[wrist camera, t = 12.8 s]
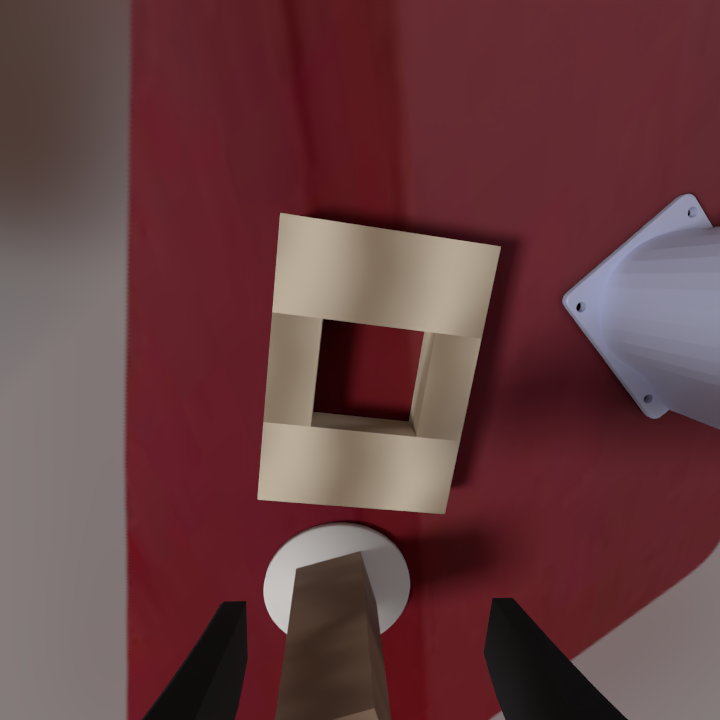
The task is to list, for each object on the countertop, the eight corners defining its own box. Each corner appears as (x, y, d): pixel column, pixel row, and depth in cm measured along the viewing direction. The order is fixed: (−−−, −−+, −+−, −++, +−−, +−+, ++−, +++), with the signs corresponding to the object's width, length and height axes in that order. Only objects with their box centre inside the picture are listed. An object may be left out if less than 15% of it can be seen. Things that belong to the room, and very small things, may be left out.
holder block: (483, 250, 18) (501, 246, 16) (434, 492, 21) (444, 514, 19) (286, 220, 17) (280, 212, 15) (265, 478, 20) (257, 499, 18)
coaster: (437, 583, 23) (439, 588, 22) (334, 664, 24) (334, 670, 23) (341, 494, 21) (341, 498, 20) (233, 586, 22) (232, 592, 21)
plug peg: (360, 550, 21) (374, 708, 13) (376, 602, 22) (398, 778, 14) (296, 568, 21) (273, 736, 13) (315, 619, 22) (303, 803, 14)
